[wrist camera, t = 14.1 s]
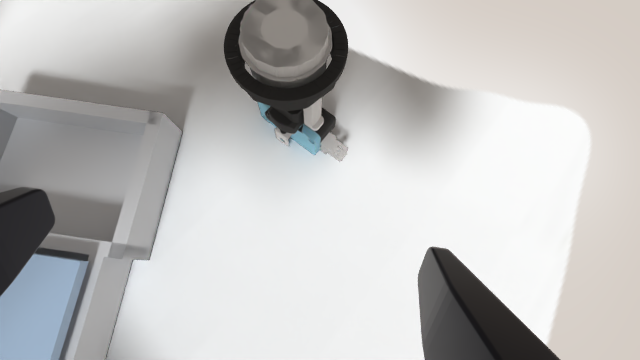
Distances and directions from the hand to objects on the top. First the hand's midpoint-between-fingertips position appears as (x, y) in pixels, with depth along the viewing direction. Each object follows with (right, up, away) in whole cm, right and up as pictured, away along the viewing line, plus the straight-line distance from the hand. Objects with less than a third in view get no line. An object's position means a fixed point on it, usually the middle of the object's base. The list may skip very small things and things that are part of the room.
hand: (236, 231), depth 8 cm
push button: (+1, +4, +15) cm, 16 cm away
